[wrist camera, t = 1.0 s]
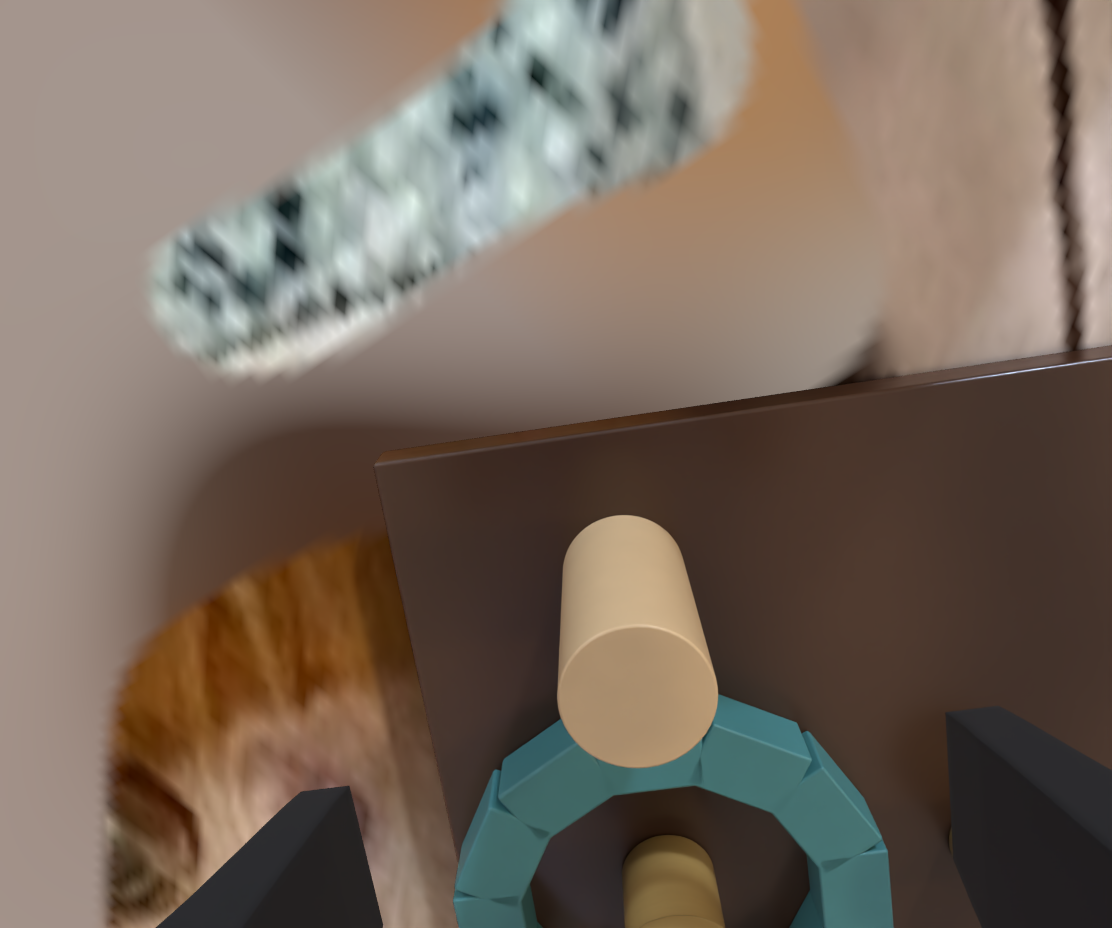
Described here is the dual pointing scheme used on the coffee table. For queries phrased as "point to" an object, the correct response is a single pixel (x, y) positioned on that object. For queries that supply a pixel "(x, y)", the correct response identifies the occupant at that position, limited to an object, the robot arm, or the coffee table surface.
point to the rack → (780, 611)
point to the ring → (659, 743)
